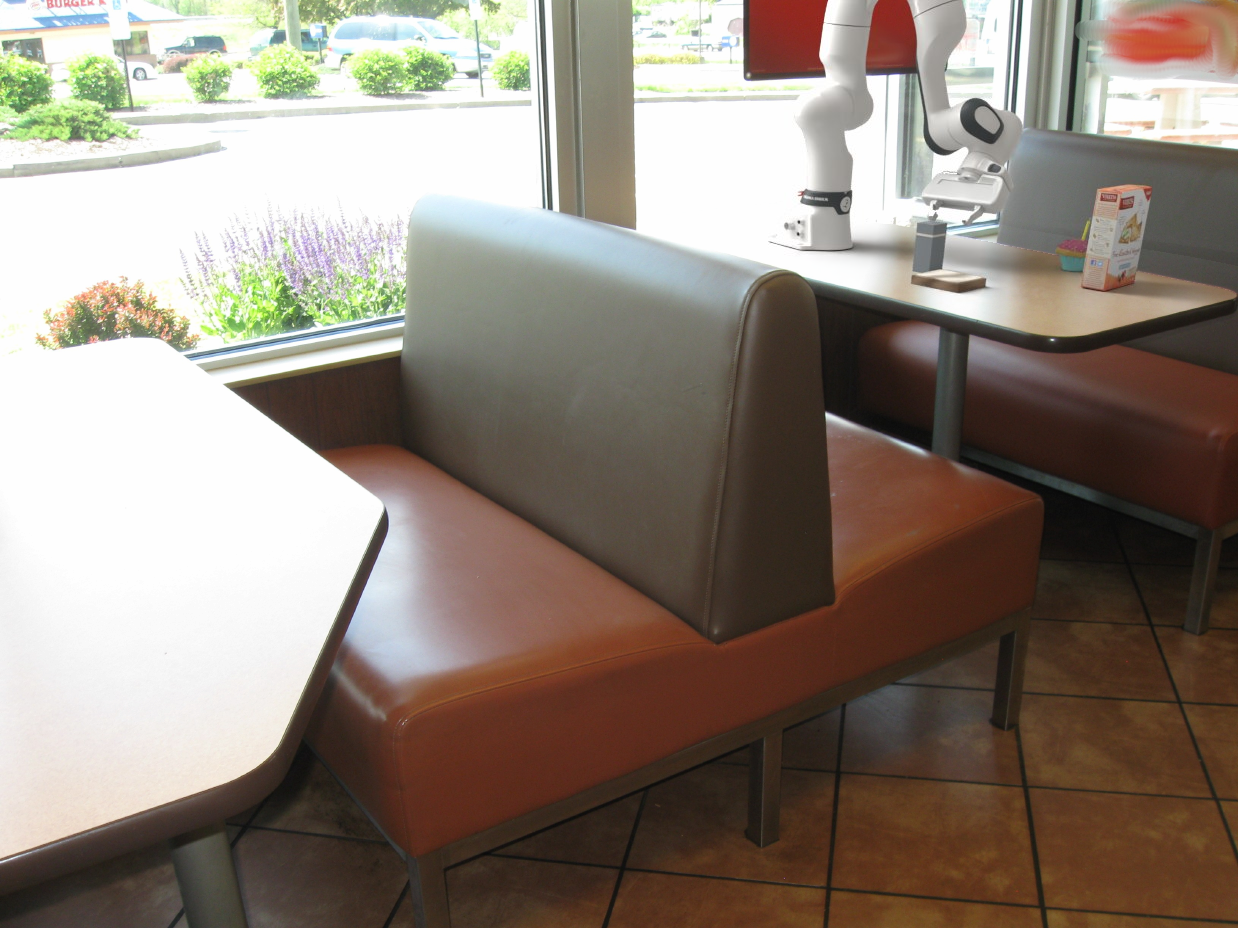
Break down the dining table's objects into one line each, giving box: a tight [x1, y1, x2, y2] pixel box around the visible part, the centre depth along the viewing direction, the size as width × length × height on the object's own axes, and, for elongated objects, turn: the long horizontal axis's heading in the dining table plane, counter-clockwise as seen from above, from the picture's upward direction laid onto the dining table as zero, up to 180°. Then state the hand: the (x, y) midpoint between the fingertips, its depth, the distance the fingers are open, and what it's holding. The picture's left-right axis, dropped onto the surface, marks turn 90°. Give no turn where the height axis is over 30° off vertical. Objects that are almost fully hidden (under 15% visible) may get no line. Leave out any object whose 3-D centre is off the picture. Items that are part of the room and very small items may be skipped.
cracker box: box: [1080, 184, 1153, 292], centre depth 234 cm, size 14×6×21 cm, turn 131°
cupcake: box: [1055, 217, 1092, 272], centre depth 251 cm, size 9×8×12 cm
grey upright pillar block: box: [912, 220, 948, 274], centre depth 250 cm, size 5×5×11 cm
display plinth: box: [910, 269, 987, 294], centre depth 237 cm, size 12×10×2 cm
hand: (947, 221), depth 251 cm, fingers open, 8 cm apart
